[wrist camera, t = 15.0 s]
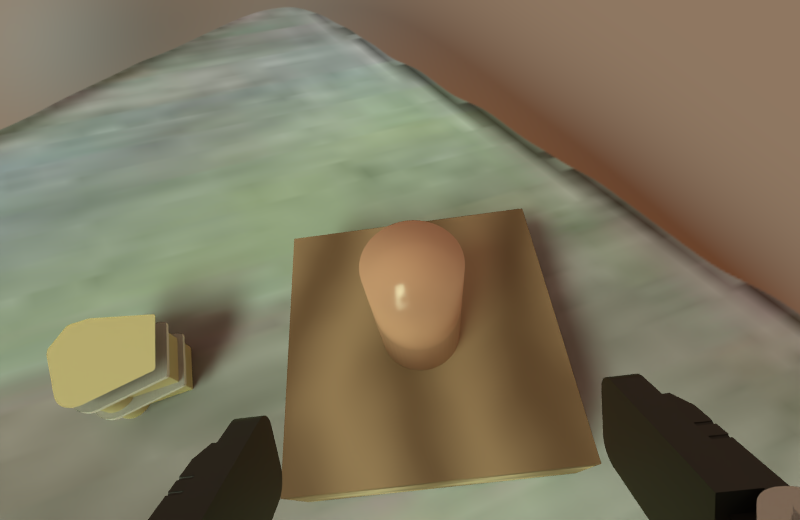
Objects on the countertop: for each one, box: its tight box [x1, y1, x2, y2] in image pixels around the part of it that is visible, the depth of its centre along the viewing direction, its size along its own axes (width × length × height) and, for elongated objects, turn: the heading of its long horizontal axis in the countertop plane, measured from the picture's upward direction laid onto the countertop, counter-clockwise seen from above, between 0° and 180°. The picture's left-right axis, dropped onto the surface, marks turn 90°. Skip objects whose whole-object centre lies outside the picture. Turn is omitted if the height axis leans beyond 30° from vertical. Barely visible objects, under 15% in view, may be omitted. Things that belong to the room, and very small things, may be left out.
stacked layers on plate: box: [47, 314, 193, 420], centre depth 29 cm, size 10×9×6 cm
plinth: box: [281, 209, 601, 502], centre depth 27 cm, size 16×16×5 cm
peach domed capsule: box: [359, 220, 465, 370], centre depth 22 cm, size 5×5×8 cm
